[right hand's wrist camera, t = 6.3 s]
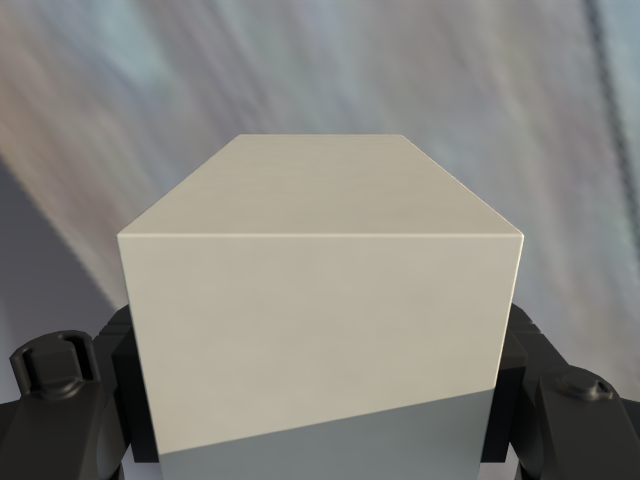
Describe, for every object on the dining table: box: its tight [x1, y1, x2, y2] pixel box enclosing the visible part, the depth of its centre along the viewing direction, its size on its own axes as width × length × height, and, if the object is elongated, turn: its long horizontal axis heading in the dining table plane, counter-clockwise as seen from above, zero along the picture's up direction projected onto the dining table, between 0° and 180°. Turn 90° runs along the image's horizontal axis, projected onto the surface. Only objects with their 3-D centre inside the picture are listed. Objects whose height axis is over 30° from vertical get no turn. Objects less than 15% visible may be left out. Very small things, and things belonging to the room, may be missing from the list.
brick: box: [116, 135, 524, 480], centre depth 13 cm, size 6×8×10 cm
